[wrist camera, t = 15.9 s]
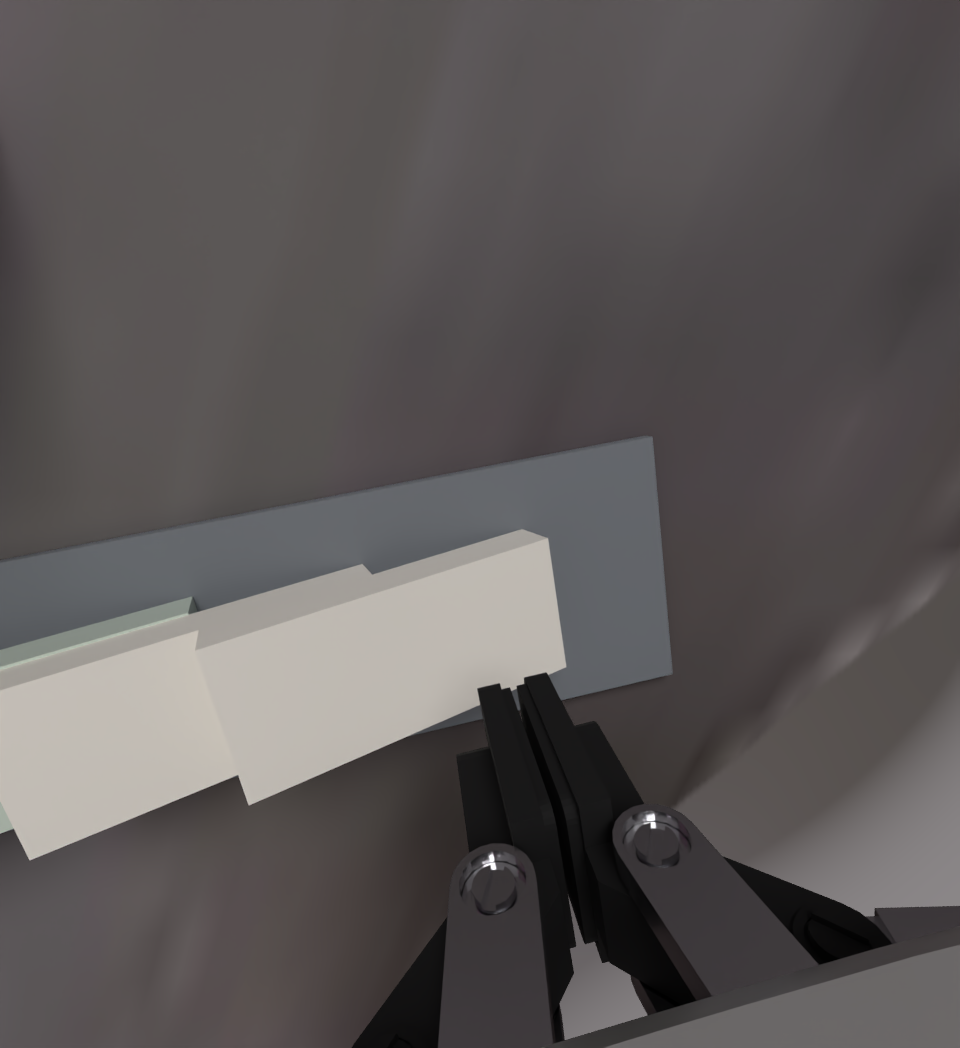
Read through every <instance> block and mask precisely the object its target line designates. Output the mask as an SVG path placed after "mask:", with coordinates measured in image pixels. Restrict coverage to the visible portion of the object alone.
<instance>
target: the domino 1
mask: <svg viewBox="0 0 960 1048" xmlns="http://www.w3.org/2000/svg"><path fill="white" fill-rule="evenodd" d="M196 612H198V611H197V608H196V605H195V602H194V600H193V597H188V598H184V599H181V600H177V601H174V602H170V603H167V604H163V605H159V606H156V607H152V608H149V609H145V610H141V611H138V612H134V613H131V614H127V615H124V616H120V617H116V618H113V619H109V620H106V621H102V622H99V623H95V624H91V625H88V626H84V627H81V628H77V629H73V630H70V631H66V632H63V633H59V634H56V635H52V636H48V637H45V638H41V639H38V640H34V641H31V642H27V643H23V644H20V645H16V646H13V647H9V648H5V649H2V650H0V670H1V669H5V668H8V667H12V666H15V665H18V664H22V663H25V662H29V661H32V660H35V659H39V658H42V657H46V656H49V655H53V654H56V653H59V652H63V651H66V650H70V649H73V648H76V647H80V646H83V645H87V644H90V643H94V642H97V641H100V640H104V639H107V638H111V637H114V636H118V635H121V634H124V633H128V632H131V631H135V630H138V629H141V628H145V627H148V626H152V625H155V624H159V623H162V622H165V621H169V620H172V619H176V618H179V617H182V616H186V615H189V614H193V613H196ZM11 829H14V828H13V826H12V824H11V822H10V820H9V818H8V816H7V814H6V812H5V810H4V808H3V806H2V804H1V802H0V834H1V833H3V832H6V831H9V830H11Z"/></svg>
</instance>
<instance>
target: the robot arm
mask: <svg viewBox="0 0 960 1048" xmlns="http://www.w3.org/2000/svg"><path fill="white" fill-rule="evenodd" d="M477 690H478V696H479V701H480V706H481V711H482V716H483V721H484V726H485V731H486V736H487V741H488V746H489V747H485V748H481V749H477V750H473V751H469V752H465V753H460V754H457V764H458V772H459V779H460V786H461V794H462V801H463V808H464V816H465V823H466V831H467V838H468V845H469V853H468V854H467V855H466V856H465V857H464V858H463V859H462V860H461V861H460V862H459V864H458V865H457V867H456V869H455V871H454V872H453V875H452V879H451V883H450V890H449V903H448V917H447V918H446V920H445V921H444V922H443V924H442V925H441V926H440V928H439V929H438V930H437V932H436V933H435V935H434V936H433V937H432V939H431V940H430V941H429V943H428V944H427V945H426V947H425V948H424V950H423V951H422V952H421V954H420V955H419V956H418V958H417V959H416V960H415V962H414V963H413V964H412V966H411V967H410V969H409V970H408V971H407V973H406V974H405V975H404V977H403V978H402V979H401V981H400V982H399V984H398V985H397V986H396V988H395V989H394V990H393V992H392V993H391V994H390V996H389V997H388V998H387V1000H386V1001H385V1003H384V1004H383V1005H382V1007H381V1008H380V1009H379V1011H378V1012H377V1013H376V1015H375V1016H374V1018H373V1019H372V1020H371V1022H370V1023H369V1024H368V1026H367V1027H366V1028H365V1030H364V1031H363V1033H362V1034H361V1035H360V1037H359V1038H358V1039H357V1041H356V1042H355V1043H354V1045H353V1047H352V1048H960V906H946V907H945V906H943V907H905V908H875V916H873V917H865V916H863V915H862V914H861V913H860V912H858V911H856V910H854V909H852V908H850V907H848V906H846V905H844V904H842V903H840V902H837V901H835V900H832V899H830V898H827V897H824V896H822V895H819V894H817V893H814V892H812V891H809V890H806V889H804V888H801V887H799V886H797V885H794V884H792V883H789V882H786V881H784V880H781V879H779V878H776V877H774V876H771V875H769V874H766V873H764V872H761V871H759V870H756V869H754V868H751V867H748V866H746V865H743V864H741V863H738V862H736V861H733V860H731V859H728V858H725V857H723V856H722V855H721V854H720V853H719V852H718V851H717V850H716V849H715V848H714V847H713V845H712V844H711V843H710V842H709V841H708V840H707V839H706V837H704V835H703V834H702V833H701V832H700V831H699V830H698V828H697V827H696V826H695V825H694V824H693V823H692V822H691V821H690V820H689V819H688V818H686V817H685V816H684V815H683V814H682V813H680V812H678V811H676V810H674V809H672V808H670V807H666V806H662V805H658V804H644V803H643V801H642V799H641V797H640V796H639V794H638V792H637V791H636V789H635V787H634V785H633V784H632V782H631V780H630V779H629V777H628V775H627V773H626V772H625V770H624V768H623V767H622V765H621V763H620V761H619V760H618V758H617V756H616V755H615V753H614V751H613V749H612V748H611V746H610V744H609V743H608V741H607V739H606V737H605V736H604V734H603V732H602V731H601V729H600V727H599V726H598V724H597V723H596V722H595V721H592V722H588V723H584V724H580V725H576V726H574V725H573V723H572V721H571V719H570V717H569V715H568V713H567V711H566V709H565V707H564V705H563V703H562V701H561V699H560V697H559V695H558V693H557V691H556V689H555V687H554V686H553V684H552V682H551V680H550V678H549V676H548V674H547V673H546V672H545V673H541V674H536V675H532V676H528V677H524V684H522V685H517V693H518V699H519V705H520V710H521V716H522V720H521V717H520V714H519V712H518V709H517V706H516V703H515V700H514V697H513V695H512V692H511V689H510V687H509V688H504V689H501V686H500V683H498V684H493V685H489V686H485V687H481V688H477ZM522 722H523V723H522ZM567 892H568V893H567ZM568 895H569V898H570V901H571V904H572V907H573V910H574V913H575V917H576V919H577V923H578V926H579V929H580V932H581V935H582V938H583V941H584V943H585V944H587V943H591V942H595V943H596V946H597V949H598V952H599V955H600V958H601V961H602V963H605V962H608V961H609V962H610V963H611V964H613V965H615V966H616V967H618V968H619V969H621V970H623V971H625V972H626V973H628V974H630V975H631V981H632V984H633V986H634V989H635V991H636V994H637V996H638V998H639V1000H640V1001H641V1003H642V1005H643V1007H644V1009H645V1011H646V1012H647V1015H648V1016H645V1017H641V1018H638V1019H635V1020H631V1021H628V1022H625V1023H621V1024H618V1025H615V1026H611V1027H608V1028H605V1029H601V1030H598V1031H595V1032H591V1033H588V1034H585V1035H581V1036H578V1037H575V1038H571V1039H568V1040H564V1030H563V1022H562V1014H561V1009H560V1004H559V1003H560V1001H561V999H562V997H563V995H564V993H565V990H566V988H567V986H568V984H569V982H570V980H571V978H572V976H573V974H574V971H573V965H572V959H571V953H570V948H573V947H576V942H575V936H574V930H573V923H572V917H571V911H570V905H569V899H568Z"/></svg>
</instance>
